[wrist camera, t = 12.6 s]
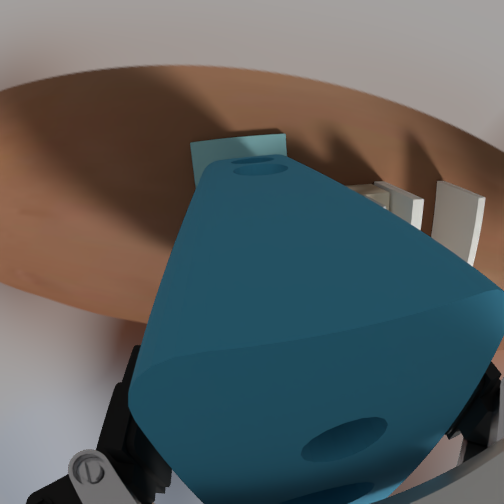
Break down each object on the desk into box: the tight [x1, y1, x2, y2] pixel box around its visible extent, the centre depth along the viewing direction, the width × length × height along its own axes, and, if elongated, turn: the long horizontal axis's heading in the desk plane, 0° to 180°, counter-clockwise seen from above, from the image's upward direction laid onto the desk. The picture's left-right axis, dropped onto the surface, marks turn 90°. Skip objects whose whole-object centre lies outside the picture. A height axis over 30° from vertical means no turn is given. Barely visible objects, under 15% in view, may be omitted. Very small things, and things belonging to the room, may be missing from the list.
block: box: [128, 154, 504, 504], centre depth 14 cm, size 12×5×20 cm, turn 5°
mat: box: [190, 134, 287, 187], centre depth 23 cm, size 7×13×1 cm, turn 5°
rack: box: [374, 181, 485, 267], centre depth 23 cm, size 16×11×6 cm
